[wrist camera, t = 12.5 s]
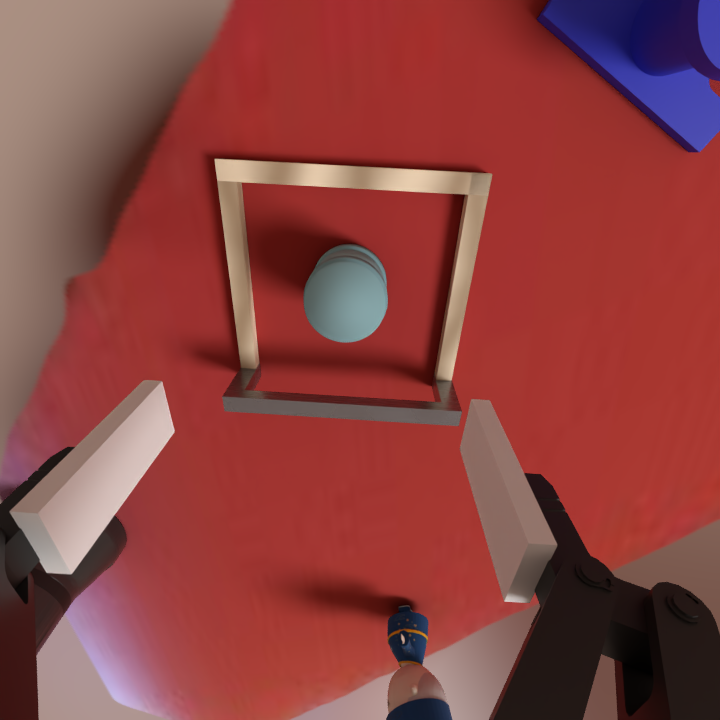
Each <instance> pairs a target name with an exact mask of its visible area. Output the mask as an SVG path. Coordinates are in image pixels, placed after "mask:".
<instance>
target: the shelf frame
mask: <svg viewBox="0 0 720 720" xmlns="http://www.w3.org/2000/svg"><path fill="white" fill-rule="evenodd" d="M215 167H216V175H217V183H218V191H219V199H220V206H221V214H222V222H223V230H224V238H225V246H226V253H227V261H228V269H229V277H230V285H231V293H232V301H233V308H234V316H235V324H236V332H237V340H238V348H239V355H240V363H241V368H250V369H256V368H257V366H258V364H259V354H258V344H257V334H256V324H255V314H254V304H253V294H252V284H251V273H250V263H249V253H248V243H247V233H246V223H245V213H244V203H243V192H242V182H248V183H266V184H285V185H303V186H321V187H339V188H357V189H375V190H394V191H412V192H430V193H448V194H465V198H464V204H463V210H462V215H461V221H460V227H459V233H458V239H457V245H456V251H455V257H454V263H453V268H452V274H451V280H450V286H449V292H448V298H447V304H446V310H445V315H444V321H443V327H442V333H441V339H440V345H439V351H438V357H437V362H436V368H435V377H436V380H445V381H451V380H452V375H453V370H454V365H455V360H456V355H457V350H458V345H459V340H460V335H461V330H462V325H463V320H464V314H465V309H466V304H467V299H468V294H469V289H470V284H471V279H472V274H473V269H474V264H475V259H476V254H477V249H478V244H479V239H480V234H481V229H482V224H483V219H484V214H485V208H486V203H487V198H488V193H489V188H490V183H491V178H492V174H490V173H475V172H457V171H438V170H420V169H401V168H383V167H365V166H346V165H328V164H309V163H291V162H273V161H254V160H236V159H215Z"/></svg>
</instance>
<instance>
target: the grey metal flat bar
mask: <svg viewBox="0 0 720 720" xmlns="http://www.w3.org/2000/svg"><path fill="white" fill-rule="evenodd" d="M260 377H261V370H260V363H259V364H258V366H257V368H256V369H250V368H240V370H239V371H238V373H237V374H236V376H235V377H234V379H233V381H232V382H231V384H230V385H229V387H228V388H227V390H226V392H225V393H224V395H223V396H222V398H223V404H224V410H225V411H231V412H247V413H262V414H278V415H294V416H310V417H326V418H341V419H357V420H373V421H389V422H405V423H420V424H436V425H452V426H459V422H460V418H461V413H462V410H461V407H460V404H459V401H458V398H457V395H456V392H455V389H454V386H453V383H452V380H451V381H445V380H436V377H435V374H434V377H433V383H432V389H433V394H434V398H435V402H427V401H411V400H395V399H379V398H363V397H347V396H331V395H315V394H299V393H283V392H267V391H254V389H255V387H256V385H257V383H258V381H259V379H260Z"/></svg>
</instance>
